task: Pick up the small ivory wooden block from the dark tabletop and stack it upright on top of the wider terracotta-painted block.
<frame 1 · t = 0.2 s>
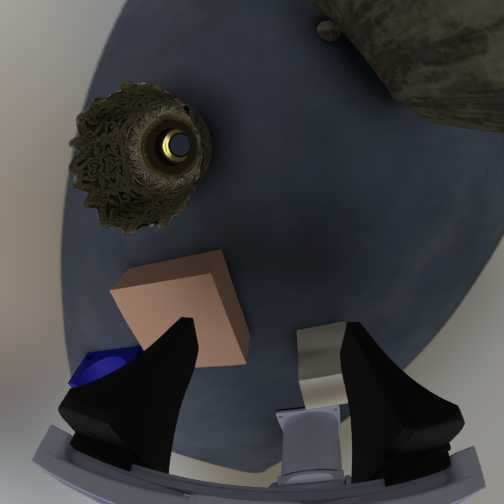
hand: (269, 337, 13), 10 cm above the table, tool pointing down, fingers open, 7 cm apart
ivory block: (323, 342, 25), on the table
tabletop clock: (402, 37, 13), on the table
blue stepped block: (128, 360, 30), on the table
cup: (181, 144, 18), on the table
terracotta block: (190, 301, 25), on the table
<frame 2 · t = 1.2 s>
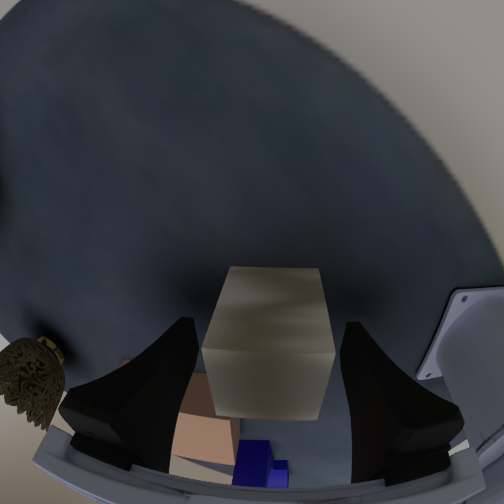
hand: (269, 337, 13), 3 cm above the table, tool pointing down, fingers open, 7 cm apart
ivory block: (273, 303, 15), on the table
blue stepped block: (267, 457, 25), on the table
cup: (56, 343, 20), on the table
terracotta block: (187, 399, 21), on the table
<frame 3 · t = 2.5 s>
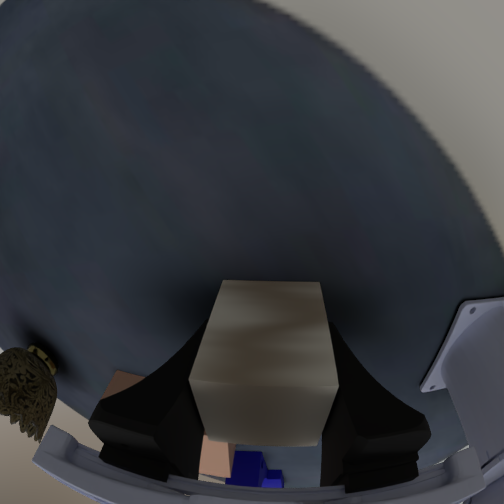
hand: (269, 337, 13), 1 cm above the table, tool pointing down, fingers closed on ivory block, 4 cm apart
ivory block: (270, 319, 14), on the table, touching gripper
blue stepped block: (261, 467, 24), on the table
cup: (47, 352, 19), on the table
terracotta block: (181, 411, 19), on the table
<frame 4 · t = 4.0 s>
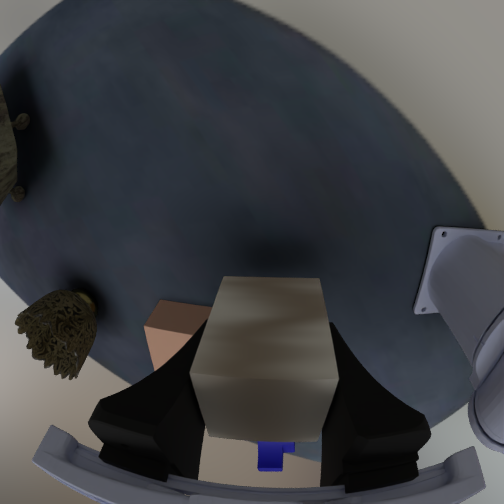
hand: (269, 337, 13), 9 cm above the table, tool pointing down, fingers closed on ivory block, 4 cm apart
ivory block: (270, 315, 14), point 7 cm above the table, touching gripper
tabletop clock: (20, 133, 17), on the table
blue stepped block: (274, 413, 30), on the table
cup: (87, 299, 25), on the table
terracotta block: (212, 342, 25), on the table
when the fingers open (7 cm above the table, at t = 5.9 s): ivory block drops 2 cm, resting on terracotta block.
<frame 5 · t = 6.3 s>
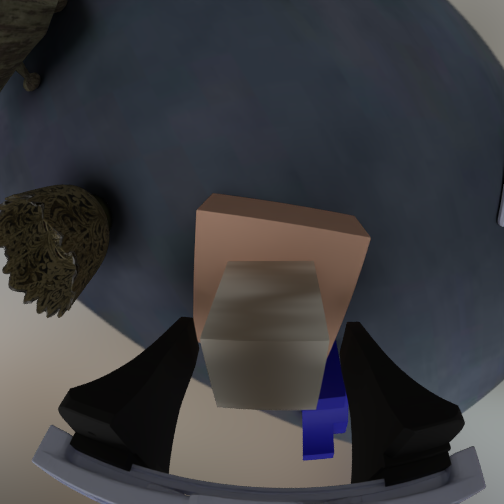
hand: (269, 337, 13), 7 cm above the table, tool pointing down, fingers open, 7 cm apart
ivory block: (271, 296, 15), point 4 cm above the table, touching terracotta block
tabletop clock: (49, 22, 11), on the table
blue stepped block: (324, 381, 24), on the table
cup: (98, 213, 18), on the table
terracotta block: (273, 265, 19), on the table, touching ivory block
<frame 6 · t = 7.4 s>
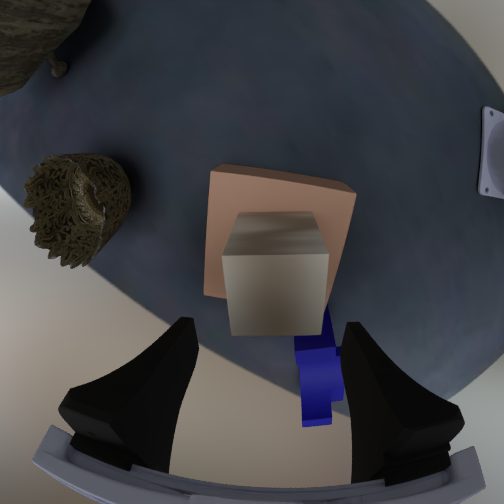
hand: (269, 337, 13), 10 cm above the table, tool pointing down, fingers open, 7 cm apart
ivory block: (276, 245, 18), point 4 cm above the table
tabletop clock: (74, 17, 14), on the table
blue stepped block: (319, 346, 27), on the table
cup: (118, 184, 21), on the table
terracotta block: (275, 227, 22), on the table
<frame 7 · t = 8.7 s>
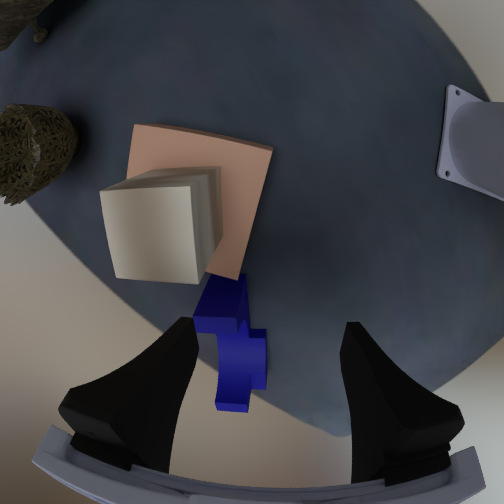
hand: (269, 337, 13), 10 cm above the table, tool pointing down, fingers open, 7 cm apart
ivory block: (187, 202, 17), point 4 cm above the table, touching terracotta block
blue stepped block: (243, 326, 26), on the table
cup: (71, 139, 19), on the table
terracotta block: (201, 189, 21), on the table, touching ivory block
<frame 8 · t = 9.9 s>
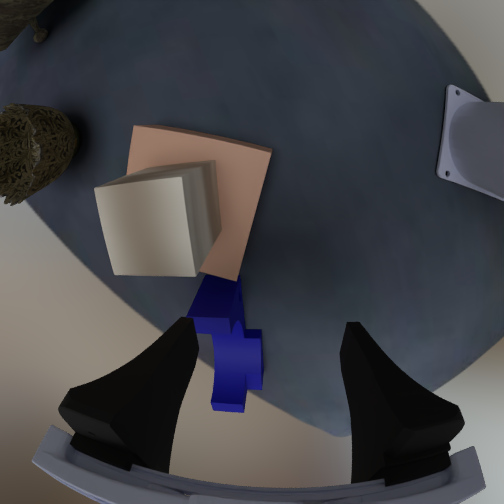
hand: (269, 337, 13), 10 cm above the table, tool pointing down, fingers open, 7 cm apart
ivory block: (184, 197, 17), point 4 cm above the table, touching terracotta block
blue stepped block: (238, 326, 26), on the table
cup: (71, 139, 19), on the table
terracotta block: (200, 190, 21), on the table, touching ivory block
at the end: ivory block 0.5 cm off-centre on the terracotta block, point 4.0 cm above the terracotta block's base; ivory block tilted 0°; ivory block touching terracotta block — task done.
